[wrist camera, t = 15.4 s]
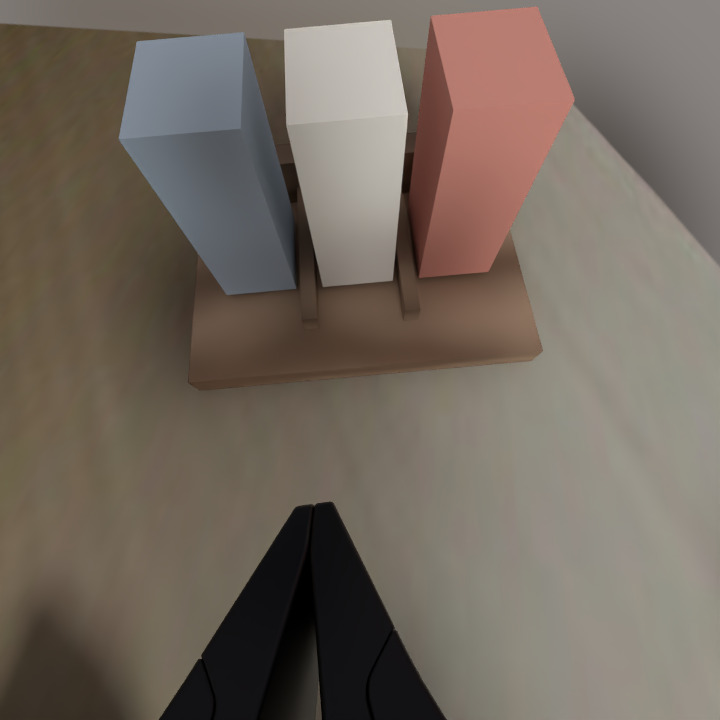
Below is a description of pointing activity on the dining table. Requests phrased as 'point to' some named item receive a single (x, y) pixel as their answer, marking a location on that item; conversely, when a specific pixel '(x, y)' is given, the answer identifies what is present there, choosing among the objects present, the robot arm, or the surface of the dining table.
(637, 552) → the dining table surface
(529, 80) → the red rectangular block
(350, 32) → the white tall block
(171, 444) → the dining table surface
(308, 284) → the wooden block stand
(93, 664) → the dining table surface
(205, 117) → the light blue tall block
